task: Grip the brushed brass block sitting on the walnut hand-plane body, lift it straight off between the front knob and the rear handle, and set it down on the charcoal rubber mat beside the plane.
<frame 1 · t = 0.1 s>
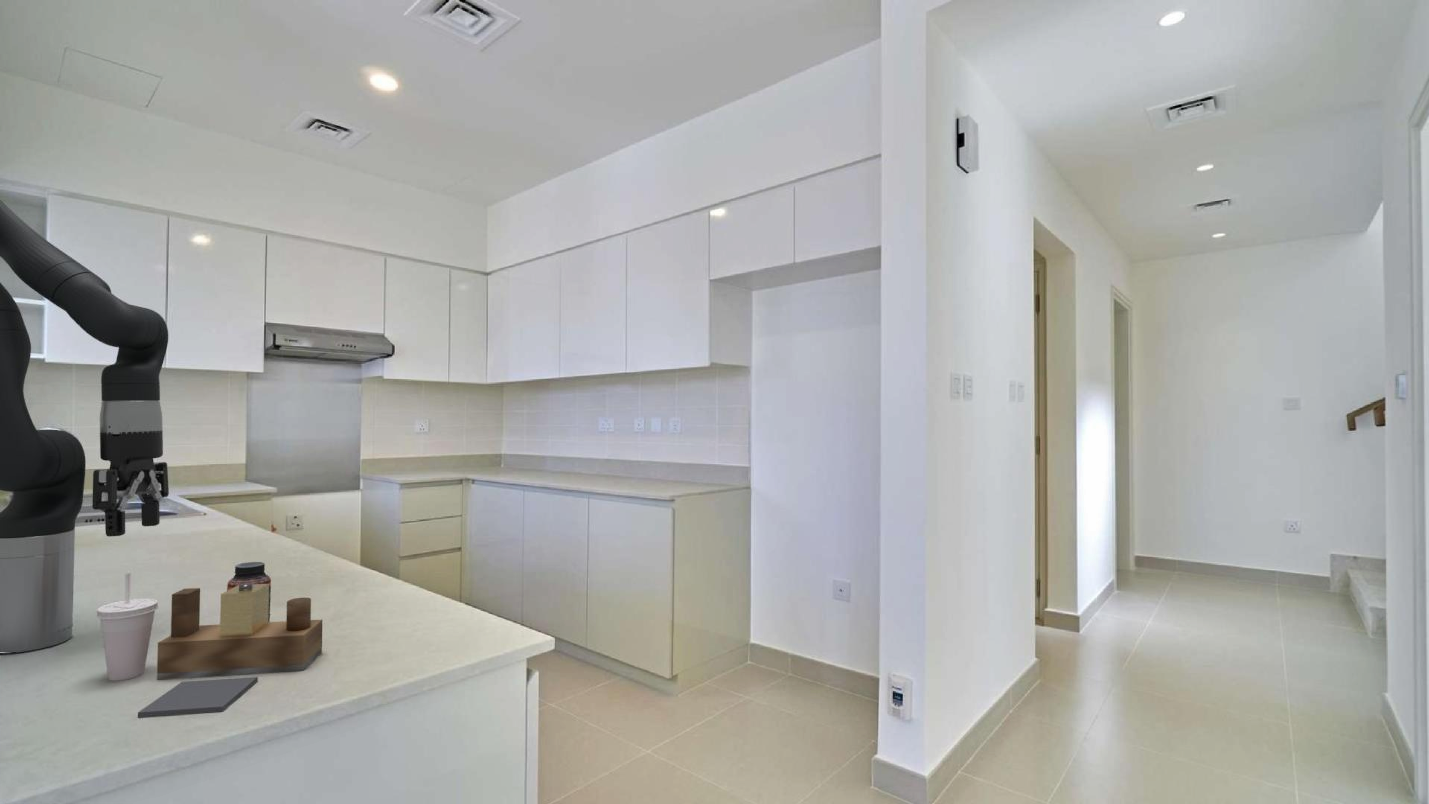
hand: (133, 530, 105), 17 cm above the counter, tool pointing down, fingers open, 8 cm apart
brushed brass block: (244, 630, 95), point 5 cm above the counter, touching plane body
mat: (201, 698, 84), on the counter
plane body: (244, 665, 95), on the counter
smoothie: (126, 676, 91), on the counter
supplement bottle: (247, 634, 108), on the counter
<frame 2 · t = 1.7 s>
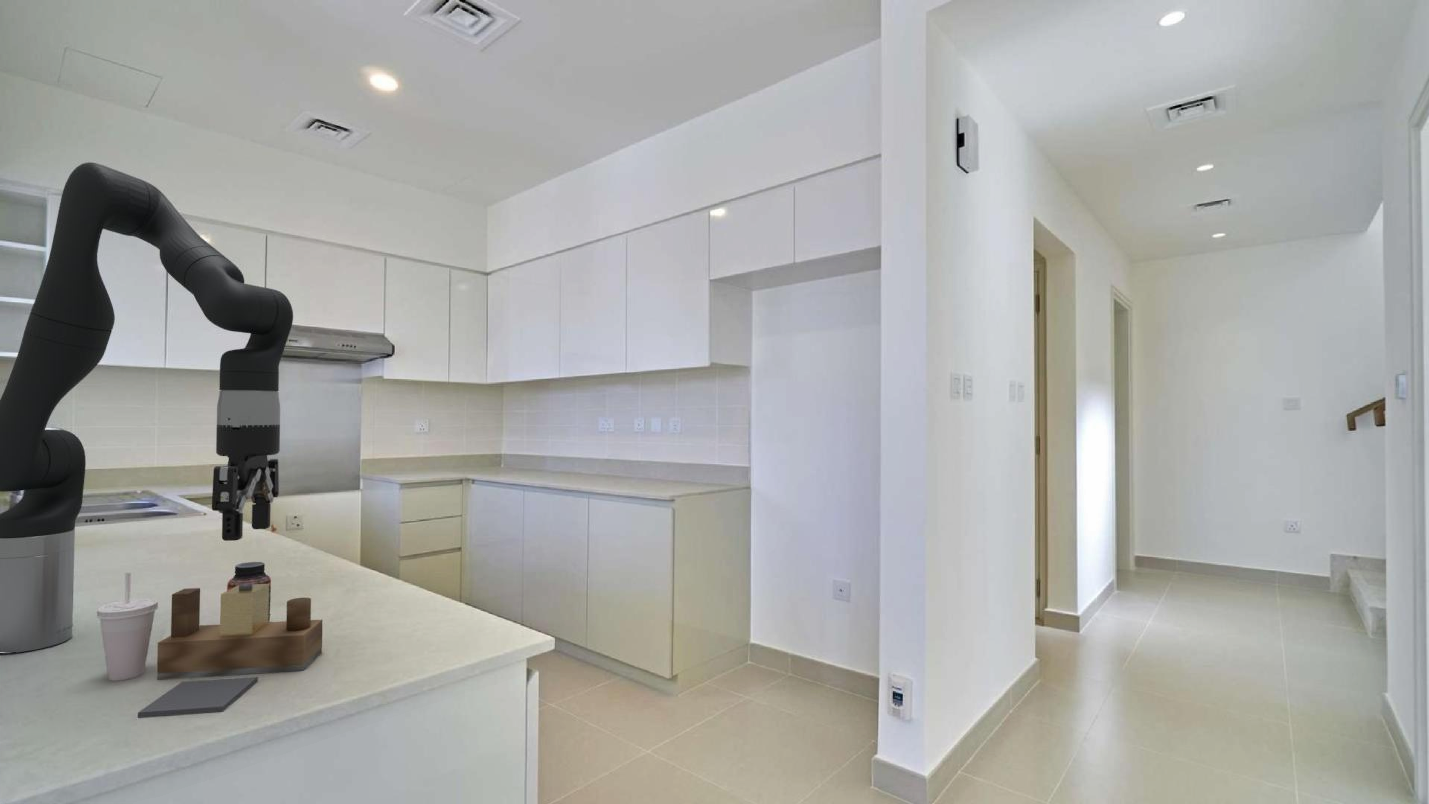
hand: (247, 534, 95), 19 cm above the counter, tool pointing down, fingers open, 8 cm apart
nothing on the counter moved.
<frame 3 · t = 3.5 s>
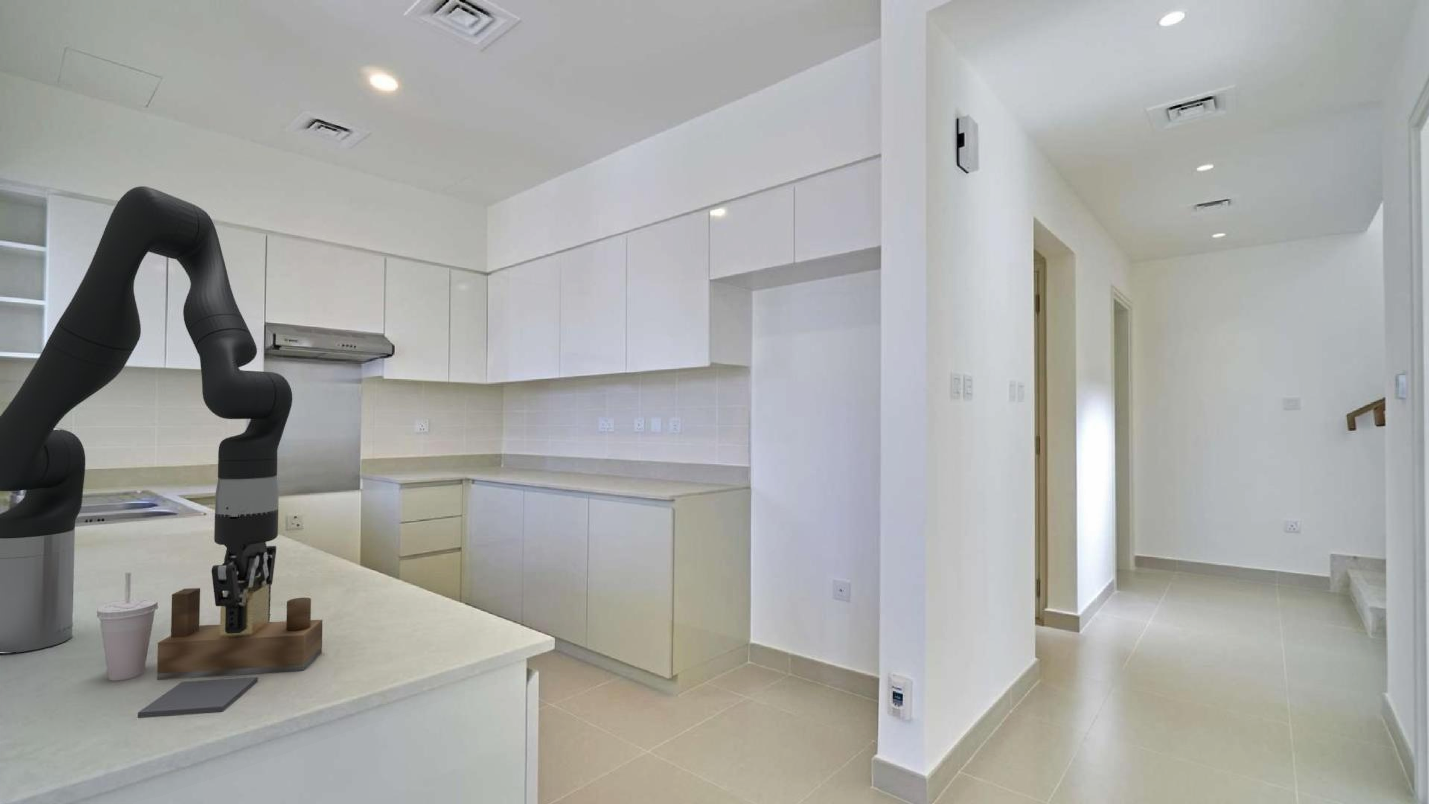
hand: (244, 625, 95), 6 cm above the counter, tool pointing down, fingers closed on brushed brass block, 5 cm apart
brushed brass block: (244, 630, 95), point 5 cm above the counter, touching gripper, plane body
everything else where it was.
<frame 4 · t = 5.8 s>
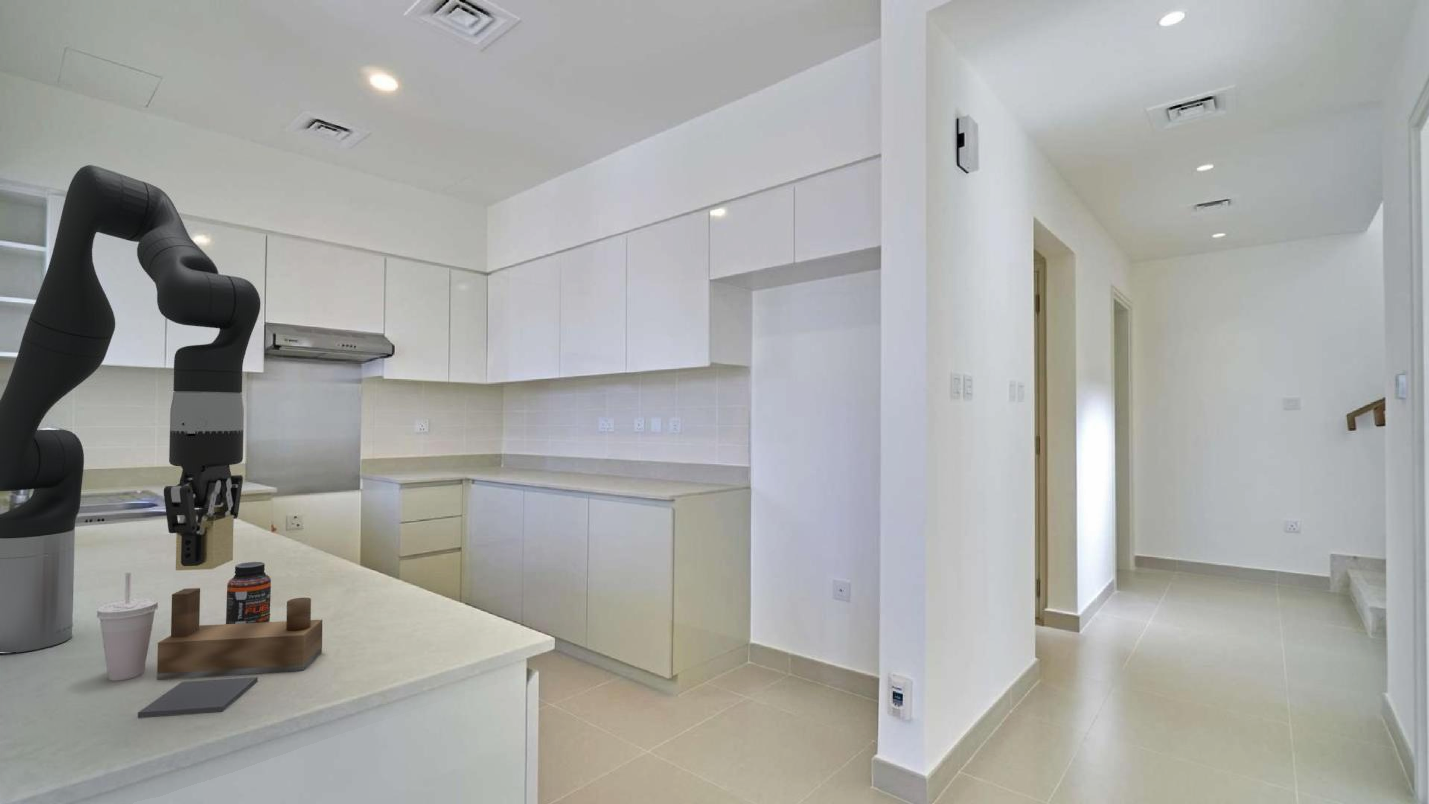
hand: (204, 559, 84), 18 cm above the counter, tool pointing down, fingers closed on brushed brass block, 5 cm apart
brushed brass block: (205, 565, 84), point 17 cm above the counter, touching gripper
everything else where it was.
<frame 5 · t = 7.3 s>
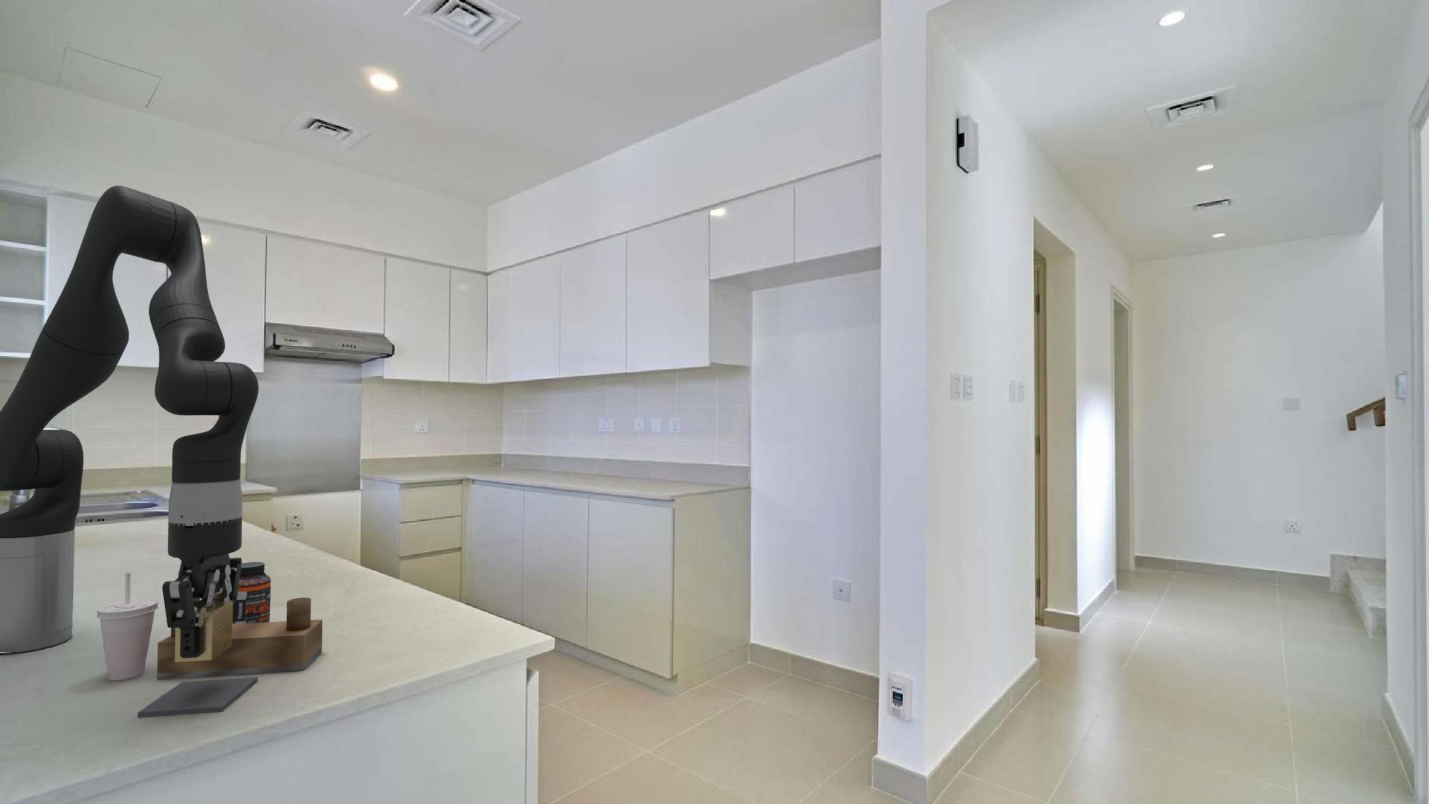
hand: (203, 648, 84), 6 cm above the counter, tool pointing down, fingers closed on brushed brass block, 5 cm apart
brushed brass block: (204, 653, 84), point 6 cm above the counter, touching gripper
everything else where it was.
when the fingers open (3 cm above the counter, at t = 8.4 s): brushed brass block drops 2 cm, resting on mat.
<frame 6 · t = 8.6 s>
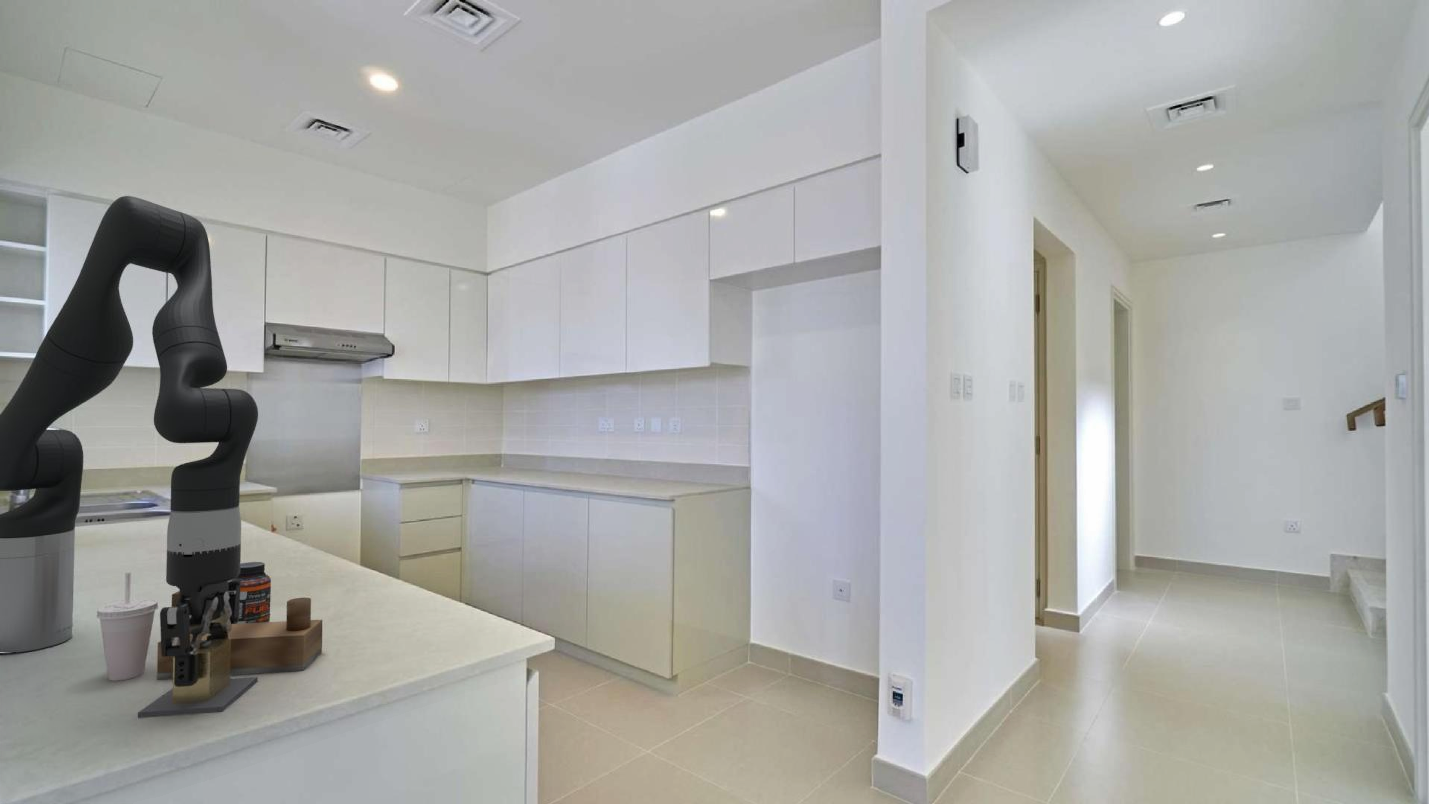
hand: (202, 673, 84), 3 cm above the counter, tool pointing down, fingers open, 6 cm apart
brushed brass block: (202, 693, 84), point 1 cm above the counter, touching mat
everything else where it was.
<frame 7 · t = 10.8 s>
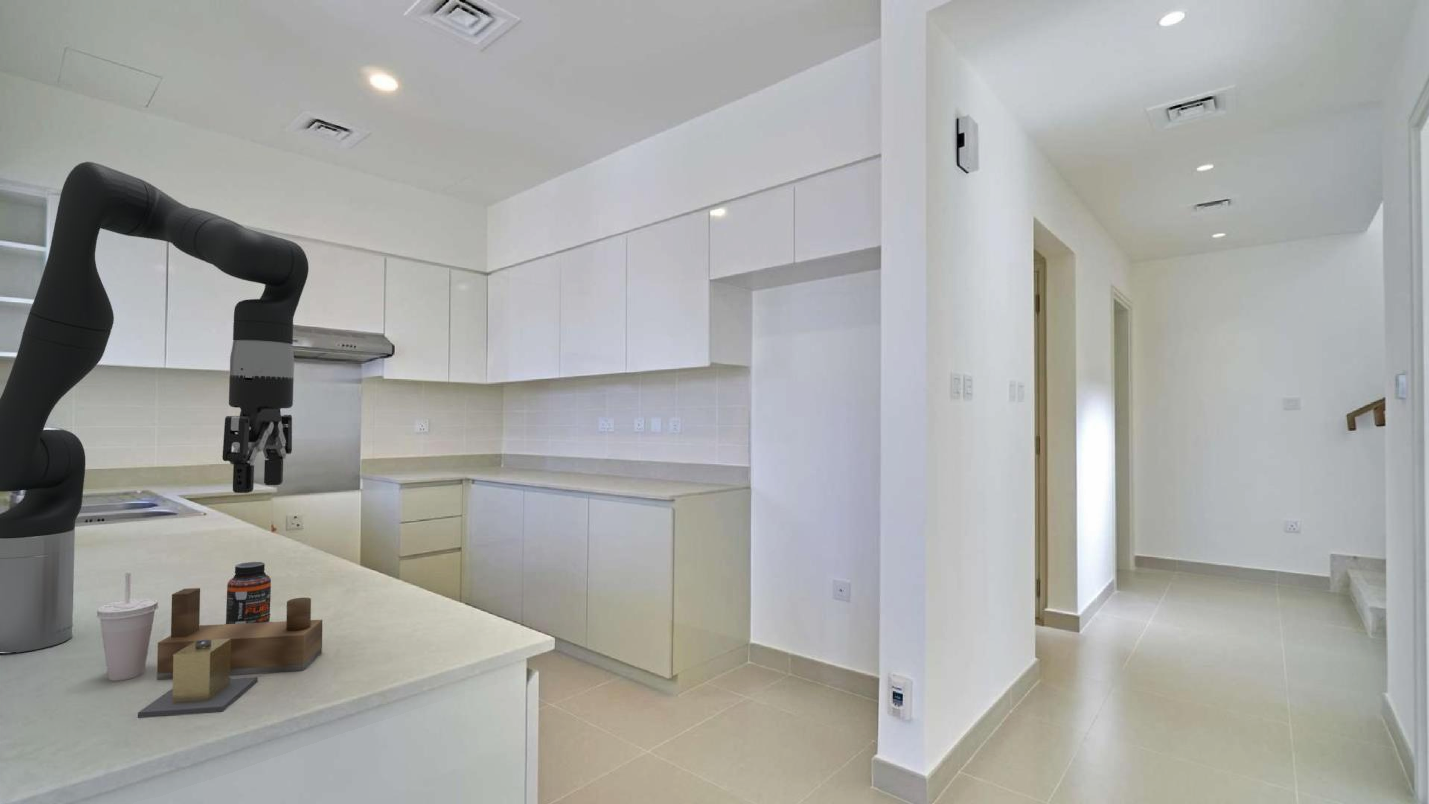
hand: (258, 488, 93), 26 cm above the counter, tool pointing down, fingers open, 8 cm apart
nothing on the counter moved.
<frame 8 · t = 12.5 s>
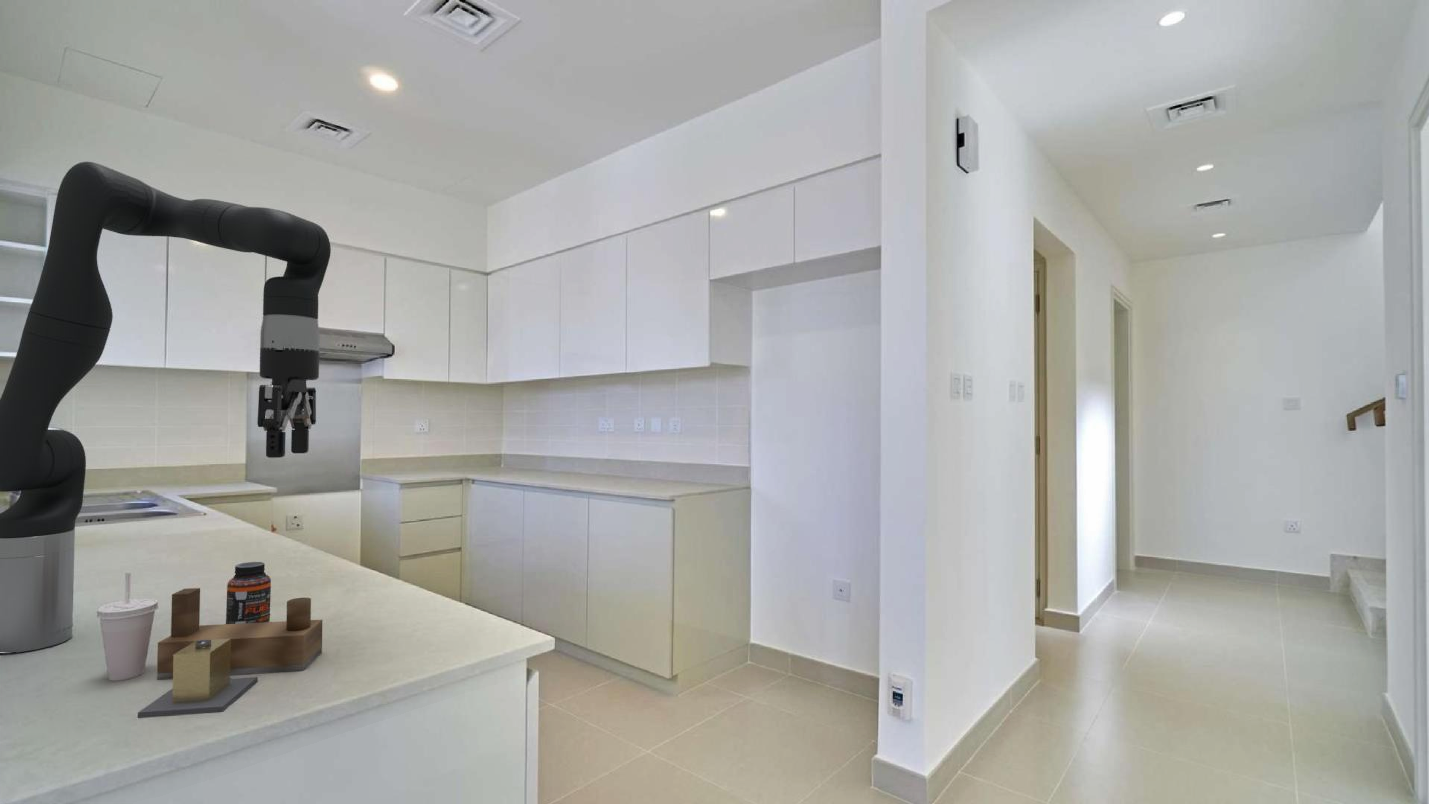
hand: (288, 455, 99), 30 cm above the counter, tool pointing down, fingers open, 8 cm apart
nothing on the counter moved.
at the end: brushed brass block inside the target area on the mat (0.1 cm from its centre), point 0.6 cm above the mat's base; brushed brass block touching mat; brushed brass block tilted 0° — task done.
